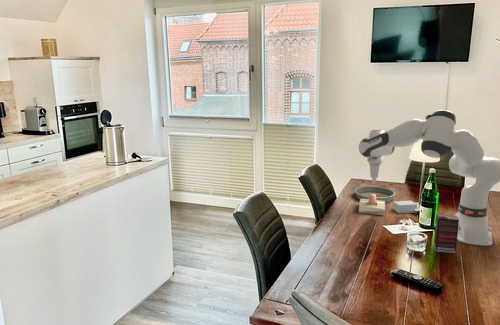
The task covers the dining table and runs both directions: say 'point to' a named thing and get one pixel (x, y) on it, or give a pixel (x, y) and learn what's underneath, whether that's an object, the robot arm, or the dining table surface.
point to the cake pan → (375, 190)
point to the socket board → (372, 207)
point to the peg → (372, 199)
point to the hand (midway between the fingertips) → (374, 181)
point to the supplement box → (446, 233)
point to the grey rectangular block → (404, 206)
